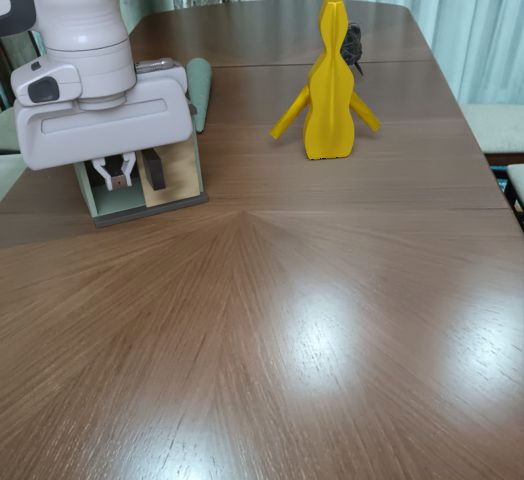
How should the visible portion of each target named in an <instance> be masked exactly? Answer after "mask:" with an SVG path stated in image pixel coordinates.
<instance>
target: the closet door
mask: <svg viewBox="0 0 524 480" xmlns="http://www.w3.org/2000/svg"><path fill="white" fill-rule="evenodd" d="M135 156H136V161H137V166H138V171H139V176H140V181H141V186H142V191H143V195H144V200H145V205H146V207H151V206H156V205H160V204H164V203H168V202H173V201H177V200H181V199H185V198H189V197H194V196H198V195H200V188H199V181H198V173H197V165H196V158H195V150H194V143H193V135H192V134H191V136H190V138H189V139H188V140H187V141H182V142H177V143H172V144H167V145H162V146H157V147H152V148H147V149H142V150H137V151H135Z"/></svg>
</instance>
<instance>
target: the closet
mask: <svg viewBox="0 0 524 480" xmlns="http://www.w3.org/2000/svg"><path fill="white" fill-rule="evenodd" d="M186 100H187V103H188V107H189V111H190V115H191V120H192V126H193V132H192V135H193V143H194V150H195V158H196V165H197V173H198V181H199V188H200V195H198V196H194V197H189V198H185V199H181V200H177V201H173V202H168V203H164V204H160V205H156V206H151V207H146V205H145V200H144V195H143V191H142V186H141V181H140V176H139V171H138V166H137V161H136V160H135V163H134V165H133V168H132V170H131V173H130V179H131V184H132V186H129V187H125V188H119V189H115V190H111V191H109V190H108V188H107V185H106V182H105V178H104V177H103V176H102V175H101V174H100V173H99V172H98V171H97V170H96V169H95V168H94V166H93V164H92V162H91V160H87V161H82V162H77V163H72V165H73V168H74V170H75V174H76V178H77V181H78V185H79V188H80V192H81V194H82V198H83V199H84V202H85V205H86V207H87V209H88V212H89V214H90V217H91V219H92V221H93V223H94V226H95V229H100V228H106V227H109V226H112V225H113V226H114V225H117V224H121V223H126V222H129V221H134V220H137V219H141V218H147V217H151V216H154V215H158V214H163V213H168V212H171V211H175V210H180V209H183V208H188V207H193V206H196V205H200V204H205V203H208V202H209V197H208V195H207V194H206V193H205V191H204V186H203V177H202V169H201V161H200V155H199V147H198V138H197V131H196V128H195V122H194V115H196V114H197V108H196V107H195V106H194V105H193V104H192V103H191V102H190V99H189V98H187V97H186ZM134 153H135V151H134ZM135 158H136V156H135ZM104 160H105V165H104V167H105V169H106V170H107V171H108V172H111V171H116V170H120V169H121V167H122V164H123V161H124V159H123V157H122V155H121V154H117V155H112V156H107V157H104Z"/></svg>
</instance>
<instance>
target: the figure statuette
mask: <svg viewBox="0 0 524 480" xmlns="http://www.w3.org/2000/svg"><path fill="white" fill-rule="evenodd" d="M348 21H349V19H348V14H347V11H346V6H345V2H344V1H343V0H322V4H321V7H320V10H319V13H318V15H317V26H318V31H319V35H320V37H321V39H322V42H323V50H322V51H321V53H320V55H319V56H318V58H317V60H316V61H315V62H314V63H313V65H312V67H311V68H310V70H309V72H308V74H307V80H306V83H305V84H304V85H303V87H302V88H301V90H300V92H299V93H298V94H297V96H296V98H295V99H294V101H293V102H292V104H291V105H290V106H289V107H288V109H286V111H284V113H283V114H282V115H281V117H280V118H279V119H278V121H277V122H276V123H275V124H274V125H273V126H272V128H271V129H270V130H269V132H268V134H269V135H270V136H271V137H273V138H274V139H275V140H278V139H279V138H280V137H281V136H282V134H284V132H285V131H286V130H287V129H288V127H290V125H292V123H293V122H294V121H295V120H296V119H297V117H298V116H299V115H300V114H301V113H302V112H303V111H304V110H305V109H306V107H307V106H309V107H308V110H307V113H306V116H305V119H304V122H303V127H302V140H303V146H304V148H305V153H306V155H307V157H308V159H309V160H311V159H314V160H323V159H322V158H326V159H336V157H338V158H346V157H348V156H349V155H350V154H351V152H352V149H353V146H354V141H355V124H354V120H353V117H352V114H351V111H350V109H351V110H352V111H353V112H354V114H356V115H357V116H358V118H359V119H361V121H362V122H364V123H365V124H366V125H367V126H368V127H369V128H370V129H371V130H372V131H373V132H375V133H376V132H377V131H378V129H380V128H381V126H382V124H381V122H380V121H379V120H378V118H377V117H376V115H375V114H374V113H373V112H372V110H371V109H370V108H369V106H368V105H367V104H366V103H365V102H364V101H363V100H362V99H361V98H360V97H359V96H358V93H356V92H355V90H354V87H355V78H354V74H353V72H352V70H351V68H350V67H349V66H348V65H347V64H346V62H345V61H344V59H343V58H342V56H341V55H340V48H341V45H342V43H343V40H344V38H345V35H346V33H347V29H348ZM320 158H321V159H320Z"/></svg>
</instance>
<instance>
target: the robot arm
mask: <svg viewBox="0 0 524 480" xmlns="http://www.w3.org/2000/svg"><path fill="white" fill-rule="evenodd" d="M120 1H121V0H0V39H6V38H12V37H15V36H17V35H20V34H22V33H25V32H36V33H37V34H38V35H40V36H41V38H42V41H43V46H44V48H45V53H44V54H42V55H40V56H38V57H36V58H34V59H33V60H31V61H29V62H27V63H25V64H23V65H21V66H20V67H17V68H16V69H14V70H13V71H11V75H10V86H11V89H12V92H13V94H14V96H15V99H14V101H13V107H12V114H13V123H14V128H15V129H14V131H15V135H16V140H17V143H18V148H19V152H20V156H21V159H22V161H23V164H24V166H26V167H27V168H28V169H30V170H31V171H34V172H35V171H41V170H45V169H51V168H56V167H60V166H65V165H71V164H72V165H73V163H77V162H82V161H87V160H91V162H92V164H93V166H94V168H95V169H96V170H97V171H98V172H99V173H100V174H101V175H102V176H103V177H104V178H105V182H106V185H107V188H108V190H109V191H111V190H115V189H119V188H125V187H129V186H132V184H131V179H130V173H131V170H132V168H133V165H134V163H135V160H136V158H135V153H134V151H137V150H142V149H147V148H152V147H157V146H162V145H167V144H172V143H177V142H182V141H187V140H188V139H189V138H190V136H191V134H192V132H193V126H192V120H191V115H190V111H189V107H188V103H187V100H186V98H187V97H186V93H187V92H188V84H187V75H186V67H184V65H183V64H182V63H180V62H179V61H176V60H173V58H172V57H161V58H159V59H155V60H154V59H153V60H142V61H136V62H134V59H133V53H132V48H131V42H130V37H129V31H128V28H127V26H126V23H125V21H124V19H123V16H122V12H121V4H120ZM117 154H121V155H122V157H123V159H124V161H123V164H122V167H121V169H120V170H116V171H111V172H108V171H107V170H106V169H105V167H104V165H105V160H104V157H107V156H112V155H117Z"/></svg>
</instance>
